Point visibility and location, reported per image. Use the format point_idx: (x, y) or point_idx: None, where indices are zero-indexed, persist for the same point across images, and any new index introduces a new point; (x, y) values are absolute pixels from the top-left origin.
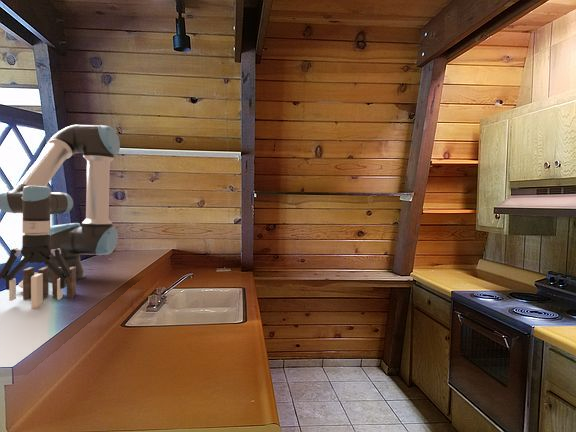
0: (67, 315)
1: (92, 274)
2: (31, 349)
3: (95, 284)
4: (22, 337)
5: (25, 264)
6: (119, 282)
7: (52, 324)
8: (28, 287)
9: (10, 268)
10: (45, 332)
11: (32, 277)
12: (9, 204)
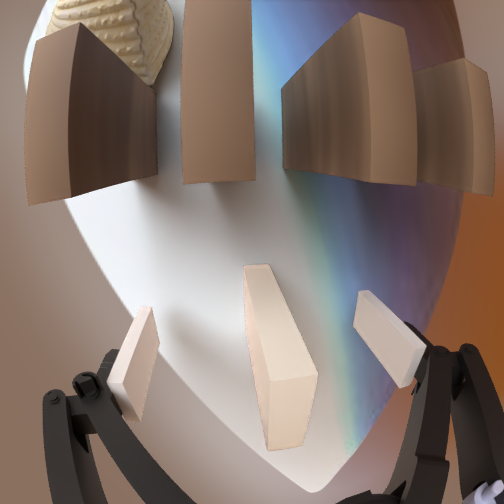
0: (376, 385)
1: None
2: (330, 477)
3: None
4: (307, 466)
5: (185, 493)
6: None
7: (348, 429)
8: (138, 176)
9: (71, 444)
10: (340, 451)
11: (276, 446)
12: None
